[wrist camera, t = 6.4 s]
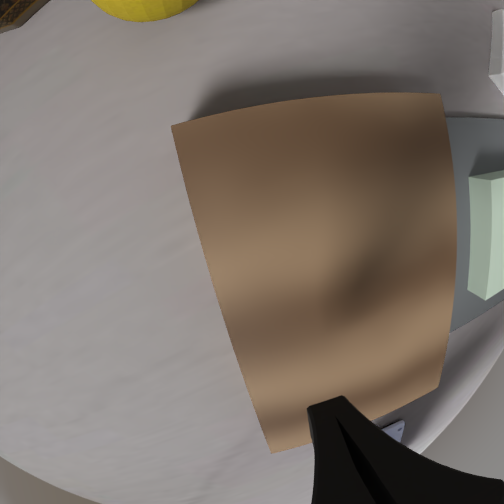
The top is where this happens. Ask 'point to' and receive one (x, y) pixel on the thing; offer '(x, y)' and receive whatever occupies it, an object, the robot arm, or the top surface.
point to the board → (328, 248)
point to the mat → (466, 165)
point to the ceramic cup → (17, 12)
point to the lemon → (143, 8)
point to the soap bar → (497, 50)
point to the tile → (486, 234)
